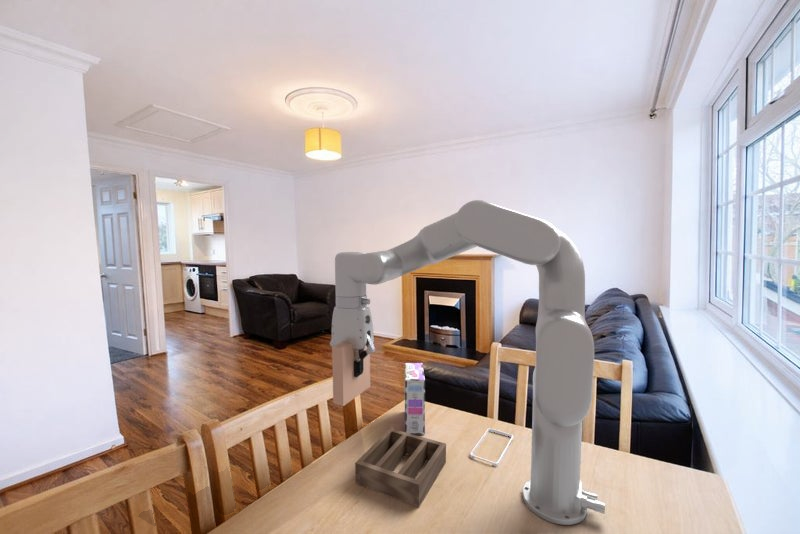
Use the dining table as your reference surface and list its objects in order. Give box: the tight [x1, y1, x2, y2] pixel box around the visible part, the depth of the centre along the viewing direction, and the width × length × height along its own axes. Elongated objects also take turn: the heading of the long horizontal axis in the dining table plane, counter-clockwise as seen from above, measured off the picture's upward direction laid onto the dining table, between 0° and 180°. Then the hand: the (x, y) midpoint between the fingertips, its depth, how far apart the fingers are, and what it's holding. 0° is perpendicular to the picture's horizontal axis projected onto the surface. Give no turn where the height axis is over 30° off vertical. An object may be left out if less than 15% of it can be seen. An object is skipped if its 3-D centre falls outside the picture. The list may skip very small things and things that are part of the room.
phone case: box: [470, 427, 514, 467], centre depth 96 cm, size 7×1×15 cm
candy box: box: [404, 362, 426, 436], centre depth 108 cm, size 14×6×16 cm, turn 179°
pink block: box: [331, 342, 371, 407], centre depth 90 cm, size 3×12×14 cm, turn 153°
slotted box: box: [354, 427, 447, 508], centre depth 85 cm, size 16×16×5 cm
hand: (352, 373), depth 90 cm, fingers closed on pink block, 3 cm apart
